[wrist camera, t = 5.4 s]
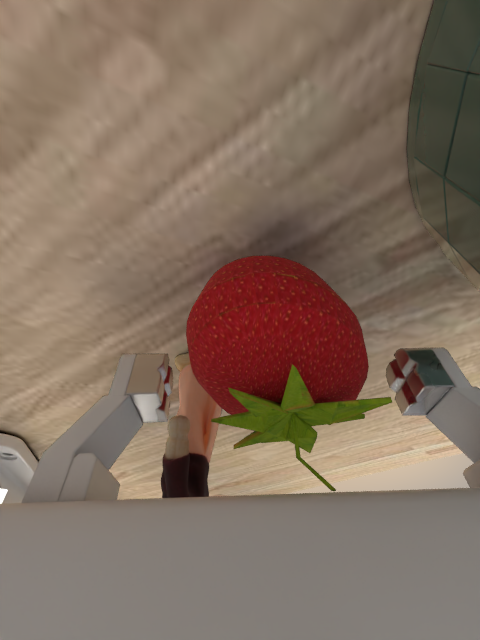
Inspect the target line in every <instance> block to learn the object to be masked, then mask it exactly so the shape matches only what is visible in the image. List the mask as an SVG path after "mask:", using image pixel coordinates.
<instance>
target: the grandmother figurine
mask: <svg viewBox="0 0 480 640" xmlns="http://www.w3.org/2000/svg"><path fill="white" fill-rule="evenodd" d="M175 365H176V367H177V369H178V370H179V371H180V372H181V373H180V376H179V400H180V407H179V410H178V413H177V415H176V416H174V417H172V418H171V419H170V420H169V422H168V432H169V437H168V439H167V442H166V450H165V454H164V456H163V473H162V477H161V487H162V492H163V495H162V498H183V497H209V492H208V483H207V478H208V472H209V462H210V459H211V454H212V449H213V446H214V442H215V438H216V434H217V430H218V425H219V423H215V422H211V419H214V418H219V417H220V415H221V411H222V408H221V407H220V406H219V405H218V404H217V403H216V402H215V401H214V400H213V399H212V398H211V396H210V395H209V394H208V393H207V392H206V391H205V390H204V389H203V387H202V386H201V385H200V384H199V383H198V381H197V379H196V377H195V376H194V374H193V372H192V368H191V364H190V359H189V353H186V354H181V355H178V356H177V357H176V358H175Z"/></svg>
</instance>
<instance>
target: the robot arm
mask: <svg viewBox="0 0 480 640" xmlns="http://www.w3.org/2000/svg"><path fill="white" fill-rule="evenodd" d="M394 356H395V358H396V359H395V360H393V361H391V362H390V363H389V364H388V366H387V368H386V378H387V382H388V385H389V387H390V388H391V389H392V390H393V391H395V392H396V396H395V400H396V403H397V405H398V407H399V409H400V411H401V414H402V415H427V416H426V417H427V418H428V419H429V420H430V421H431V422H432V423H433V424H434V425H435V426H436V427H437V428H438V429H439V430H440V431H441V432H442V433H443V434H444V435H446V436H447V437H448V438H449V439H450V440H451V441H452V442H453V443H454V444H455V445H456V446H457V447H458V448H459V449H460V450H461V451H462V452H463V453H464V454H465V455H467V456H468V458H470V459H471V460H472V461H473V462H474V464H472V465H471V466H469V467H468V468H466V469H465V470H464V472H463V475H464V476H465V479H466V480H467V483H468V484H469V486H470V488H457V489H456V488H455V489H454V488H453V489H423V490H397V491H396V490H395V491H394V490H393V491H363V492H333V493H305V494H304V493H303V494H273V495H243V496H213V497H183V498H154V499H124V500H117V496H118V491H119V487H120V484H119V482H118V481H117V480H116V479H115V477H114V476H113V475H112V474H111V473H110V472H109V471H108V470H109V469H110V467H111V466H112V465H113V463H114V462H115V461H116V459H117V458H118V457H119V455H120V454H121V453H122V452H123V450H124V449H125V448H126V446H127V445H128V444H129V442H130V441H131V440H132V438H133V437H134V436H135V434H136V433H137V432H138V430H139V429H140V428H141V426H142V425H143V423H148V422H167V421H168V415H169V408H170V402H169V398H168V396H169V395H170V394H171V393H172V387H173V372H172V368H171V367H170V366H169V357H168V354H123V355H122V356H121V357H120V360H119V363H118V366H117V369H116V372H115V375H114V378H113V381H112V385H111V388H110V391H109V394H108V395H107V396H103V397H102V398H101V399H100V400H98V401H97V402H96V403H95V404H94V405H93V406H92V407H91V408H90V409H89V410H88V411H87V412H86V413H85V414H84V415H83V416H82V417H80V418H79V419H78V420H77V421H76V422H75V423H74V424H73V425H72V426H71V427H70V428H69V429H68V430H67V431H66V432H65V433H64V434H62V435H61V436H60V437H59V438H58V439H57V440H56V441H55V442H54V443H53V444H52V445H51V446H50V447H49V448H48V449H47V450H45V451H44V452H43V454H42V456H41V458H40V461H39V463H38V461H37V460H36V458H35V457H34V456H33V454H32V453H31V451H30V450H29V448H28V447H27V446H26V444H25V443H24V441H23V440H21V439H20V438H17V437H14V436H11V435H7V434H2V433H0V640H480V389H479V388H477V387H472V386H471V385H470V383H469V382H468V380H467V379H466V377H465V376H464V374H463V373H462V371H461V370H460V368H459V367H458V365H457V364H456V362H455V361H454V360H453V358H452V357H451V355H450V354H449V352H448V351H447V350H446V349H445V348H401V349H398V350H397V351H396V352H395V354H394Z"/></svg>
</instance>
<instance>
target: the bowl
mask: <svg viewBox="0 0 480 640" xmlns="http://www.w3.org/2000/svg"><path fill="white" fill-rule="evenodd" d="M407 157H408V170H409V182H410V186H411V190H412V194H413V198H414V202H415V206H416V209H417V211H418V213H419V215H420V218H421V220H422V222H423V224H424V226H425V228H426V230H427V231H428V232H429V234H430V235H431V236H432V238H433V239H434V240H435V242H436V243H437V244H438V245H439V247H440V248H441V250H442V252H443V253H444V255H445V256H446V257H447V258H448V259H449V260H450V261H451V262H452V263H453V264H454V265H455V266H456V267H457V269H458V270H459V271H460V272H461V273H462V274H463V275H464V276H465V277H466V278H467V279H468V280H469V281H470V282H471V284H472V285H473V286H474V287H475V288H476V289H477V290H478V291H479V292H480V0H434V3H433V6H432V10H431V14H430V17H429V21H428V25H427V28H426V32H425V36H424V39H423V43H422V47H421V50H420V54H419V58H418V62H417V67H416V73H415V79H414V85H413V90H412V96H411V102H410V108H409V122H408V139H407Z"/></svg>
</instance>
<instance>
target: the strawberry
mask: <svg viewBox="0 0 480 640" xmlns="http://www.w3.org/2000/svg"><path fill="white" fill-rule="evenodd" d="M186 337H187V344H188V351H189V359H190V364H191V368H192V372H193V374H194V376H195V377H196V379H197V381H198V383H199V384H200V385H201V386H202V387H203V389H204V390H205V391H206V392H207V393H208V394H209V395H210V396H211V398H212V399H213V400H214V401H215V402H216V403H217V404H218V405H219V406H220V407H221V408H222V409H224V410H225V411H226V412H228V413H229V414H231V415H229V416H224V417H219V418H214V419H211V422H215V423H220V424H225V425H230V426H235V427H240V428H244V429H249V430H254V432H253V433H251V434H250V435H248V436H247V437H245V438H244V439H242V440H241V441H239V442H238V443H236V444H235V445H234V449H236V448H240V447H244V446H248V445H252V444H256V443H260V442H261V443H266V442H280V441H290V442H292V443H293V444H295V450H296V458H297V459H298V460H299V461H300V462H301V463H302V464H304V465H305V466H306V467H307V468H308V469H309V470H310V471H311V472H312V473H313V474H314V475H315V476H316V477H317V478H319V479H320V480H321V481H322V482H323V483H324V484H325V485H326V486H327V487H328V488H329V489H330V490H331V491H336V490H335V488H333V487H332V486H331V485H330V484H329V483H328V482H327V481H326V480H325V479H324V478H323V477H322V476H320V475H319V474H318V473H317V472H316V471H315V470H314V469H313V468H312V467H311V466H309V465H308V464H307V463H306V462H305V461H304V460H303V459H302V458H301V457H300V450H299V447H300V448H302V449H304V450H305V451H307V452H309V453H310V452H311V450H312V448H313V445H314V443H315V441H316V438H317V432H316V431H315V430H314V429H313V428H312V427H311V426H316V425H324V424H328V425H331V424H333V423H339V422H345V421H351V420H357V419H363V418H365V414H361V413H364V412H366V411H369V410H372V409H375V408H377V407H380V406H383V405H386V404H388V403H391V402H392V400H391V397H385V398H373V399H361V400H356V398H357V397H358V395H359V393H360V391H361V389H362V387H363V385H364V383H365V381H366V378H367V374H368V367H369V366H368V358H367V352H366V348H365V343H364V338H363V334H362V329H361V327H360V324H359V322H358V320H357V317H356V316H355V314H354V313H353V312H352V310H351V309H350V308H349V306H348V305H347V304H346V303H345V302H344V301H343V300H342V299H341V298H340V297H339V296H338V295H337V294H336V292H335V291H334V290H333V289H332V288H331V287H330V286H329V285H328V284H327V283H326V282H325V281H324V280H323V279H321V278H320V277H319V276H318V275H317V274H316V273H315V272H313V271H312V270H310V269H308V268H307V267H305V266H303V265H301V264H300V263H297V262H294V261H291V260H288V259H286V258H280V257H274V256H250V257H246V258H241V259H237V260H235V261H233V262H231V263H229V264H226V265H224V266H223V267H222V268H221V269H219V270H218V271H217V272H215V273H214V274H213V276H212V277H211V278H210V280H209V281H208V282H207V284H206V285H205V287H204V289H203V290H202V292H201V294H200V295H199V297H198V299H197V300H196V302H195V304H194V305H193V307H192V309H191V312H190V314H189V317H188V320H187V329H186Z"/></svg>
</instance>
